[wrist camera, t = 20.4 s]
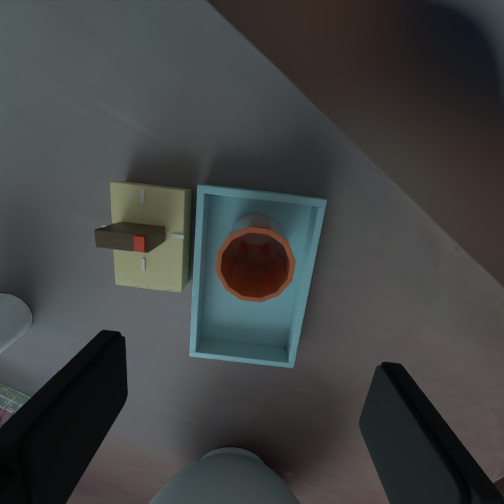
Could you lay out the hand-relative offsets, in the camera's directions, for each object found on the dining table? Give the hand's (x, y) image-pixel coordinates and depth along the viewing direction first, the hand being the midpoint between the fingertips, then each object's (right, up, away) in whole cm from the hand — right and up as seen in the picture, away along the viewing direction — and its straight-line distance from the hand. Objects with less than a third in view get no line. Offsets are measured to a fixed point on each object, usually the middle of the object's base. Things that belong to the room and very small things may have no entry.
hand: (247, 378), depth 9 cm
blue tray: (0, +2, +23) cm, 23 cm away
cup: (+1, +6, +21) cm, 22 cm away
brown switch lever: (-12, +7, +18) cm, 23 cm away
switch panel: (-12, +7, +21) cm, 25 cm away
